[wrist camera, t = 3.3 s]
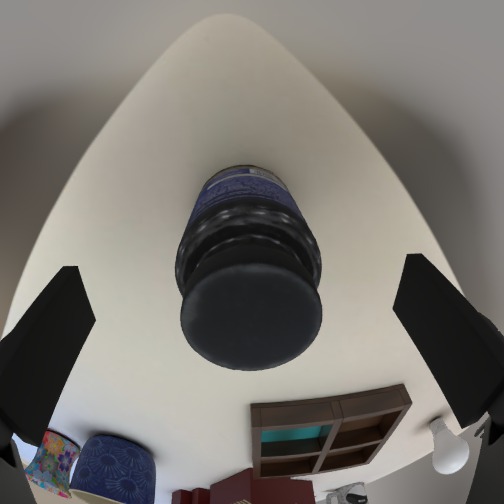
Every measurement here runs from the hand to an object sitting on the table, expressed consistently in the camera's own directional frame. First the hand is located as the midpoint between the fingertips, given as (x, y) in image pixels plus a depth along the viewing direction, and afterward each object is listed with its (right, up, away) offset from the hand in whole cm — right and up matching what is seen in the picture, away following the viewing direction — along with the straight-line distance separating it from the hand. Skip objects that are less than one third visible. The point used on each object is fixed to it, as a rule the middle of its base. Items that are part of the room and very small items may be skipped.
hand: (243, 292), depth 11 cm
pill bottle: (0, +4, +8) cm, 9 cm away
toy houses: (-7, -53, +37) cm, 65 cm away
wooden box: (+9, -22, +22) cm, 33 cm away
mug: (+21, -52, +38) cm, 68 cm away
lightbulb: (+30, -26, +25) cm, 47 cm away
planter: (-20, -28, +24) cm, 42 cm away
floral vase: (-35, -32, +26) cm, 54 cm away
